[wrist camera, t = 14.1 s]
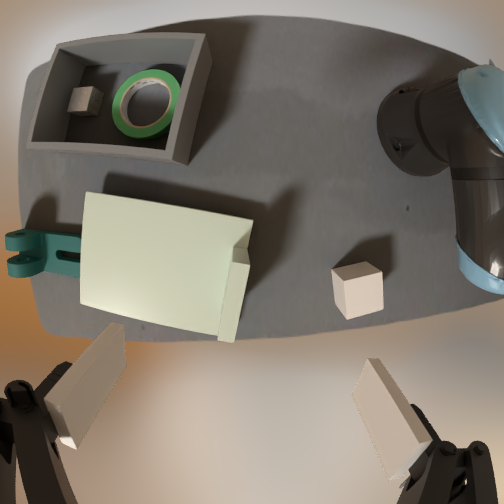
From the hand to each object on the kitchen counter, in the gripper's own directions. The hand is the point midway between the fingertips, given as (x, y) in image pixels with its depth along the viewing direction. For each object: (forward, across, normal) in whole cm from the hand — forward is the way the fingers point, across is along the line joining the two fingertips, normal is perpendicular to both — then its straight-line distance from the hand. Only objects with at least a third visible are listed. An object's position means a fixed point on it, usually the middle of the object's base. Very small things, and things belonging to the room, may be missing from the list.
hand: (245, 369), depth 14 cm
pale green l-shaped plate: (+28, +13, +4) cm, 31 cm away
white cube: (+29, -17, +3) cm, 34 cm away
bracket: (+29, +33, +6) cm, 44 cm away
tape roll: (+29, +18, -20) cm, 39 cm away
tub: (+28, +22, -20) cm, 41 cm away
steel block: (+28, +29, -20) cm, 45 cm away
